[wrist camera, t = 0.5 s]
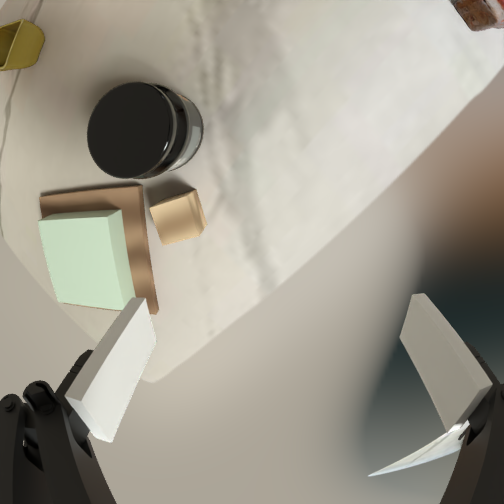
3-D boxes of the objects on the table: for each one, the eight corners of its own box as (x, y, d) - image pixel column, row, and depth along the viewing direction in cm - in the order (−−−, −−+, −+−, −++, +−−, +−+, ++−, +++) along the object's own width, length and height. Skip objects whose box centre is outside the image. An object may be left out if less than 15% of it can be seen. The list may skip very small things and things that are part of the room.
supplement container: (147, 87, 30) (102, 69, 19) (218, 107, 32) (196, 90, 20) (123, 157, 34) (71, 167, 23) (189, 181, 35) (156, 199, 24)
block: (163, 199, 36) (149, 208, 32) (196, 189, 36) (186, 196, 31) (174, 233, 38) (162, 245, 34) (207, 224, 38) (199, 235, 33)
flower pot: (14, 75, 27) (-19, 72, 19) (28, 34, 24) (-2, 26, 16) (39, 73, 28) (4, 68, 20) (56, 28, 25) (24, 17, 17)
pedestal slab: (52, 213, 36) (37, 220, 32) (121, 209, 35) (107, 216, 32) (70, 290, 41) (58, 301, 38) (135, 297, 41) (125, 310, 37)
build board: (44, 195, 36) (39, 197, 35) (142, 185, 36) (137, 186, 34) (67, 299, 44) (63, 303, 42) (158, 309, 43) (156, 314, 42)
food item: (480, -6, 17) (508, -18, 8) (503, 27, 19) (533, 20, 10) (448, 1, 20) (479, -16, 11) (475, 39, 23) (510, 29, 14)
